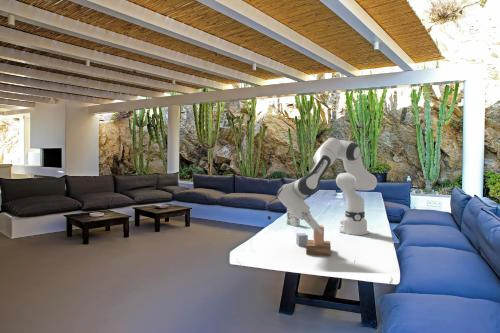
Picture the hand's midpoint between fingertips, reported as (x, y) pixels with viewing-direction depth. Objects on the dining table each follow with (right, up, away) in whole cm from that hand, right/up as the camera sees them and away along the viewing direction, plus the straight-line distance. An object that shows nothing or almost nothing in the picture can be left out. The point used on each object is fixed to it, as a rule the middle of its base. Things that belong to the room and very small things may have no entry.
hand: (320, 230), depth 177 cm
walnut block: (-1, -12, 0) cm, 12 cm away
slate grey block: (-7, -11, +14) cm, 19 cm away
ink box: (-6, -9, +67) cm, 67 cm away
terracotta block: (-1, -7, 0) cm, 7 cm away
